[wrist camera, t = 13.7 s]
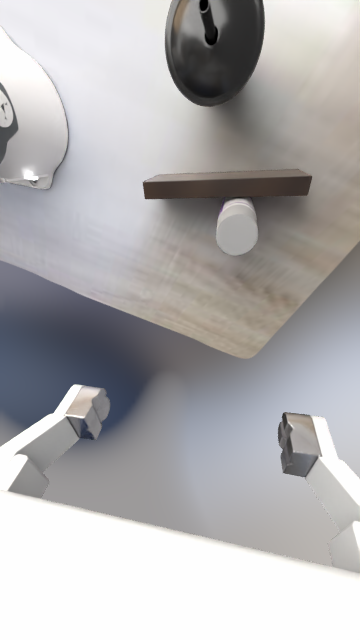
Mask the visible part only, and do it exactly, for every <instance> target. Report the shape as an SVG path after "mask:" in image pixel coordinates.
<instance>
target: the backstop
mask: <svg viewBox="0 0 360 640" xmlns="http://www.w3.org/2000/svg"><path fill="white" fill-rule="evenodd" d="M311 179H312V176H311V175H309V174H307V173H305V172H303V171H301V170H299V169H285V170H260V171H236V172H211V173H186V174H162V175H157V176H155V177H153V178H150V179H148V180H146V181H144V182H143V187H144V195H145V199H172V198H218V197H263V196H307V195H308V192H309V187H310V183H311Z"/></svg>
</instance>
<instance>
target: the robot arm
mask: <svg viewBox="0 0 360 640" xmlns="http://www.w3.org/2000/svg"><path fill="white" fill-rule="evenodd" d="M67 143H68V127H67V120H66V115H65V111H64V108H63V105H62V102H61V99H60V97H59V95H58V92H57V90H56V88H55V87H54V85H53V83H52V81H51V80H50V78H49V77H48V75H47V74H46V73H45V71H44V70H43V69H42V68H41V66H40V65H39V64H38V63H37V62H36V61H35V60H34V59H33V58H32V57H30V56H29V55H28V54H26V53H25V52H24V51H22V50H21V49H20V48H18V47H17V46H16V45H15V44H14V43H13V42H12V41H11V39H10V38H9V37H8V35H7V34H6V33H5V31H4V30H3V29H2V27H1V26H0V183H5V182H8V183H13V184H18V185H23V186H28V187H33V188H38V189H49V188H50V186H51V184H52V179H53V173H54V171H55V170H56V168H57V167H58V166H59V164H60V163H61V162H62V160H63V158H64V156H65V153H66V149H67ZM35 180H37V182H36V181H35ZM105 395H106V390H105V389H103V388H96V387H88V386H83V385H73V386H72V387H71V388H70V390H69V391H68V393H67V394H66V396H65V397H64V399H63V400H62V402H61V403H60V405H59V406H58V408H57V409H56V411H55V412H54V414H49V415H48V416H46V417H45V418H43V419H42V420H40V421H39V422H37V423H36V424H34V425H33V426H31V427H30V428H29V429H27V430H25V431H24V432H22V433H21V434H19V435H18V436H16V437H15V438H13V439H12V440H11V441H9V442H7V443H6V444H4V445H3V446H1V447H0V640H360V479H359V478H358V477H357V475H356V474H355V473H354V472H353V471H352V470H351V469H350V468H349V467H348V465H346V463H345V462H344V461H342V460H339V459H338V456H337V453H336V449H335V446H334V444H333V440H332V438H331V434H330V431H329V428H328V425H327V422H326V420H325V418H324V417H319V416H310V415H305V414H296V413H287V412H285V413H283V416H282V420H283V421H282V422H280V424H279V427H278V441H279V446H280V447H281V448H282V449H283V451H282V453H281V463H282V469H283V473H286V474H291V475H296V476H301V477H306V478H305V479H306V481H307V482H308V484H309V485H310V487H311V488H312V490H313V491H314V493H315V495H316V496H317V497H318V499H319V501H320V502H321V504H322V505H323V507H324V508H325V510H326V511H327V513H328V514H329V516H330V517H331V519H332V521H333V522H334V524H335V525H336V527H337V528H338V530H339V531H340V533H339V534H337V535H336V536H335V537H334V538H333V539H331V540H330V542H329V543H328V546H329V551H330V555H331V560H332V564H333V567H332V566H327V565H323V564H319V563H314V562H310V561H306V560H301V559H297V558H293V557H288V556H284V555H280V554H276V553H271V552H267V551H263V550H258V549H254V548H250V547H246V546H241V545H237V544H233V543H228V542H224V541H220V540H216V539H211V538H207V537H203V536H199V535H194V534H190V533H186V532H181V531H176V530H172V529H169V528H164V527H159V526H156V525H151V524H147V523H143V522H139V521H134V520H130V519H126V518H121V517H117V516H112V515H108V514H104V513H100V512H96V511H91V510H87V509H82V508H78V507H74V506H70V505H66V504H61V503H57V502H53V501H48V500H44V499H41V497H42V496H43V494H44V492H45V490H46V488H47V486H48V484H49V479H48V478H47V477H46V476H45V475H44V474H43V472H44V471H45V470H46V469H47V468H48V467H49V466H50V465H51V464H52V463H53V462H55V461H56V460H57V459H58V458H59V457H60V456H61V455H62V454H63V453H64V452H66V450H68V449H69V448H70V447H71V446H72V445H73V444H74V443H75V442H76V441H78V440H79V438H84V439H91V440H96V439H97V437H98V434H99V432H100V430H101V428H102V423H101V422H102V421H103V420H104V419H105V418H106V417H107V415H108V413H109V409H110V401H109V399H108V398H107V397H106V396H105Z"/></svg>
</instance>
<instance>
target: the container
mask: <svg viewBox="0 0 360 640" xmlns="http://www.w3.org/2000/svg"><path fill="white" fill-rule="evenodd" d="M257 239H258V225H257V218H256V214H255V210H254V206H253V202H252V198H251V197H224V199H223V201H222V205H221V209H220V213H219V217H218V222H217V230H216V242H217V245H218V247H219V248H220V249H221V250H222V251H223V252H224V253H226V254H228V255H231V256H239V255H243V254H245V253H247V252H249V251H250V250H251V249H252V248H253V247H254V246H255V244H256V242H257Z"/></svg>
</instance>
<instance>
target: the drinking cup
mask: <svg viewBox="0 0 360 640" xmlns="http://www.w3.org/2000/svg"><path fill="white" fill-rule="evenodd" d="M264 29H265V14H264V6H263V0H172V2H171V5H170V9H169V12H168V16H167V21H166V29H165V53H166V59H167V64H168V68H169V71H170V74H171V77H172V79H173V81H174V83H175V85H176V86H177V88H178V89H179V91H180V92H181V93H182V94H183V95H184V96H185V97H186V98H187V99H188V100H190V101H191V102H193V103H195V104H197V105H200V106H205V107H212V106H218V105H221V104H223V103H225V102H227V101H229V100H231V99H232V98H233V97H235V96H236V95H237V94H238V93H239V92H240V91H241V90H242V89H243V87H244V86H245V85H246V83H247V82H248V80H249V79H250V77H251V75H252V73H253V71H254V69H255V67H256V65H257V62H258V59H259V56H260V53H261V49H262V44H263V39H264Z"/></svg>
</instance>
